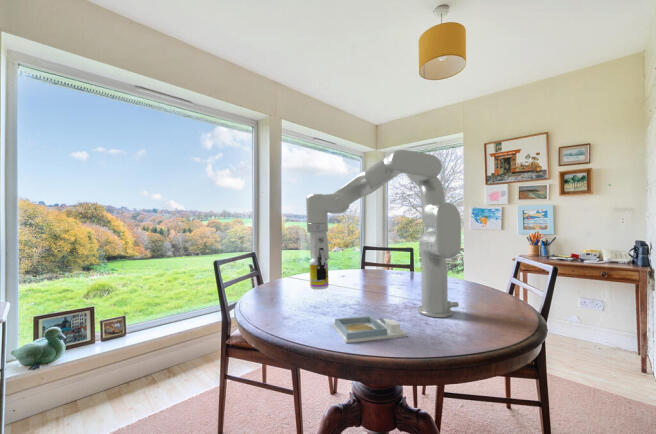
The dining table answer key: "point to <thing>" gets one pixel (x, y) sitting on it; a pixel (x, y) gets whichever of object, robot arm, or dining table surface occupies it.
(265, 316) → the dining table surface
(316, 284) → the supplement bottle
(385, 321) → the charging dock
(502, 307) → the dining table surface
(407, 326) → the dining table surface
